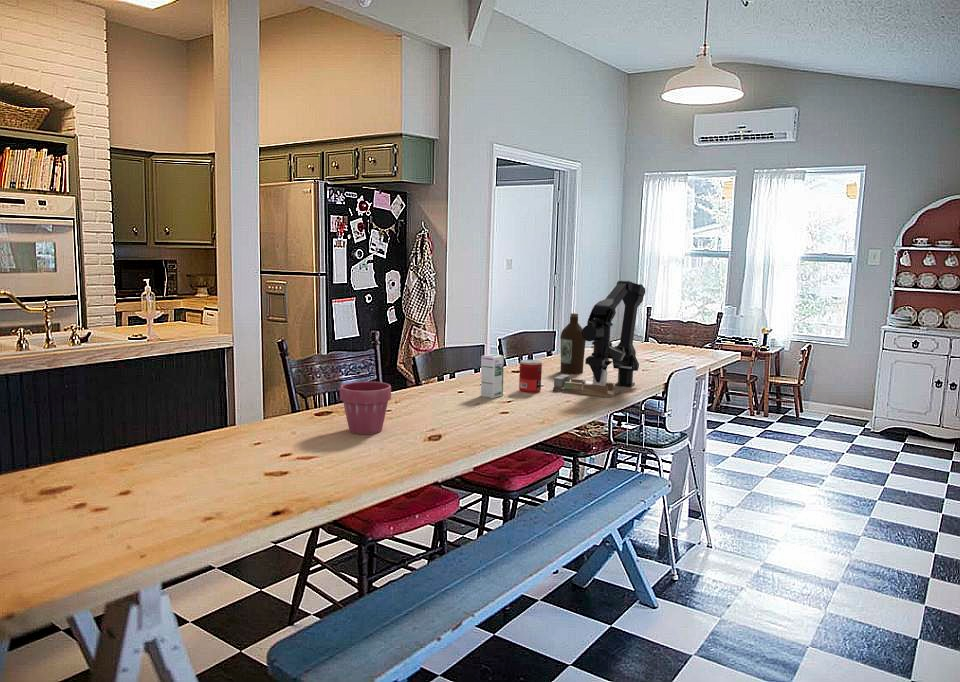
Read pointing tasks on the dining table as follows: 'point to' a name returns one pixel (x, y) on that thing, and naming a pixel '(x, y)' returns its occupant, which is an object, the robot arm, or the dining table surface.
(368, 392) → the plant pot
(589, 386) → the gauge bench
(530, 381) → the canned food
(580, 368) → the olive oil
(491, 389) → the syrup box
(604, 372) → the pale grey cube box
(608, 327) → the robot arm
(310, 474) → the dining table surface
